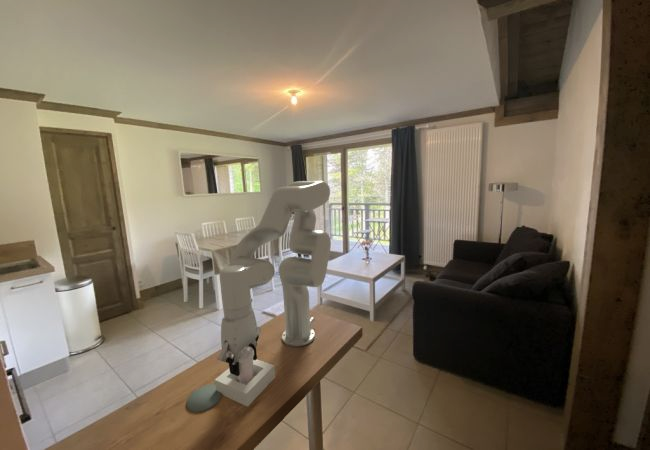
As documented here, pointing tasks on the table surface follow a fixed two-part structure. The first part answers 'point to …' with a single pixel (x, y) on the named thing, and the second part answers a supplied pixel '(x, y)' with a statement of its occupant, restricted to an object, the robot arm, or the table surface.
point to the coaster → (203, 398)
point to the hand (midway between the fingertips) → (244, 365)
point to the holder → (250, 391)
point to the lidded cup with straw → (245, 365)
